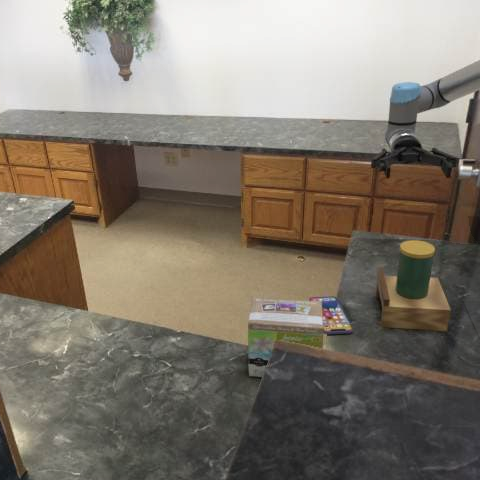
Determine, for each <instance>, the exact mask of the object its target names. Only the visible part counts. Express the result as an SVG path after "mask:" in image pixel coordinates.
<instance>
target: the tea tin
mask: <svg viewBox="0 0 480 480" xmlns="http://www.w3.org/2000/svg"><path fill="white" fill-rule="evenodd" d="M435 251H436V248H435V246H434V245H433V244H432V243H429V242H427V241H424V240H417V239H411V240H405V241H403V242H402V243H400V245H399V255H398V265H397V271H396V272H397V274H396V276H397V281H396V289H395V290H396V292H397V293H398V294H399V295H400V296H402V297H405V298H408V299H422V298H425V297H426V296H427V295H428V289H429V282H430V278H431V276H432V275H431V274H432V268H433V262H434V256H435V253H436V252H435Z"/></svg>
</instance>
